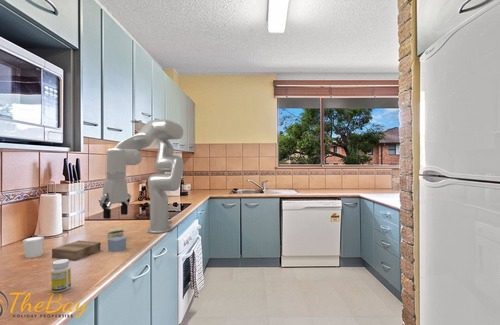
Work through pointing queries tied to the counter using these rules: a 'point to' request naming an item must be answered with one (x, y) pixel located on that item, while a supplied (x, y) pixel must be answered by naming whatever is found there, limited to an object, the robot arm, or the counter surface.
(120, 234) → the stacked layers on plate
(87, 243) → the walnut block
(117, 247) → the slate cube
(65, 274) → the supplement bottle
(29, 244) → the white short cylinder
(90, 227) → the counter surface
